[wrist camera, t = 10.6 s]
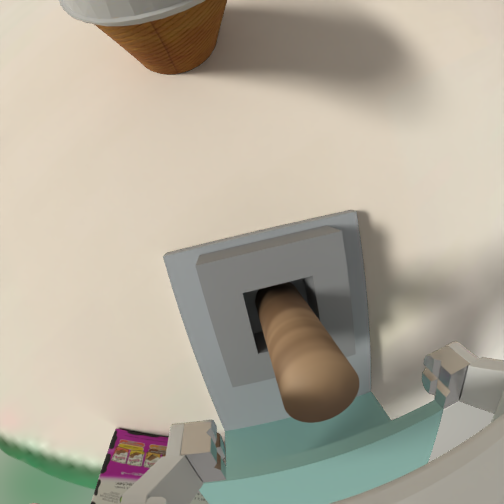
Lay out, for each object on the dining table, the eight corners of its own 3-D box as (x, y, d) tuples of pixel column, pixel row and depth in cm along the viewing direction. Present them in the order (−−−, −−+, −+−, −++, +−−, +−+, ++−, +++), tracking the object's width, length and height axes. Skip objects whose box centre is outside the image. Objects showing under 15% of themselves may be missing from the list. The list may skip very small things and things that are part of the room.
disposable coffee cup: (148, -8, 16) (114, -99, 5) (255, 11, 18) (278, -93, 6) (99, 82, 18) (14, 15, 6) (211, 108, 19) (198, 21, 8)
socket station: (166, 252, 21) (106, 321, 9) (349, 210, 22) (458, 232, 10) (228, 430, 25) (234, 533, 13) (366, 393, 26) (422, 477, 14)
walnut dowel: (250, 284, 21) (276, 375, 10) (295, 274, 21) (358, 351, 10) (260, 324, 22) (289, 430, 11) (302, 314, 22) (360, 408, 11)
